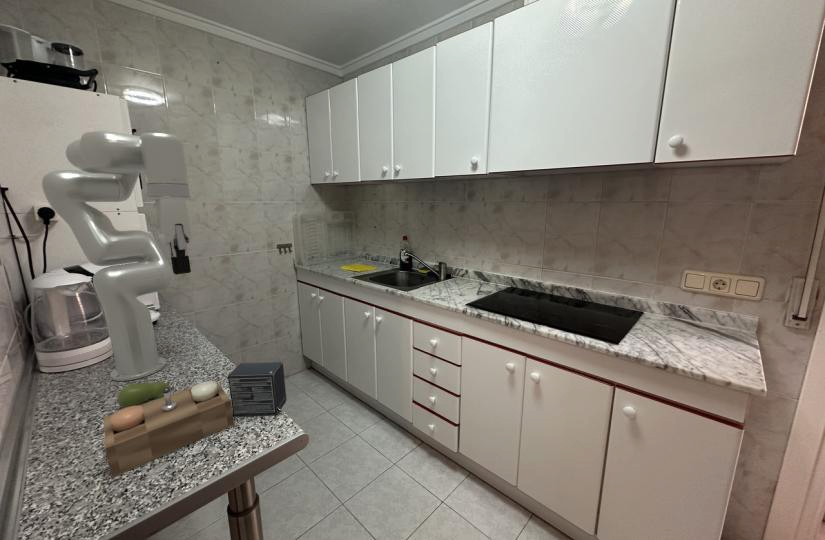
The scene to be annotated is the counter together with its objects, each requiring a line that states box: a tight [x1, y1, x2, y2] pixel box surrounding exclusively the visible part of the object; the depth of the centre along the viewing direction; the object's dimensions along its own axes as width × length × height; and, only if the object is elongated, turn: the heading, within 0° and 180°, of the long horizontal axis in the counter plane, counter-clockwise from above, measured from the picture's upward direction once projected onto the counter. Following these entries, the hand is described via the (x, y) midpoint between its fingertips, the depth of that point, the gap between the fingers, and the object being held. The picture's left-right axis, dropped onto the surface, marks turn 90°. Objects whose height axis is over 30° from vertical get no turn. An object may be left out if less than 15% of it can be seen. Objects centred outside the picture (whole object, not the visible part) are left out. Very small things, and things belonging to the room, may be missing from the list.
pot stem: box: [162, 386, 177, 412], centre depth 67 cm, size 2×2×5 cm
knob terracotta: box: [110, 406, 144, 433], centre depth 63 cm, size 5×5×8 cm
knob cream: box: [191, 380, 218, 404], centre depth 72 cm, size 5×5×8 cm
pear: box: [117, 381, 170, 409], centre depth 80 cm, size 6×5×10 cm
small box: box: [227, 361, 287, 418], centre depth 76 cm, size 11×6×10 cm, turn 92°
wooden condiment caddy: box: [103, 379, 235, 478], centre depth 68 cm, size 12×20×6 cm, turn 134°
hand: (182, 272), depth 76 cm, fingers closed
